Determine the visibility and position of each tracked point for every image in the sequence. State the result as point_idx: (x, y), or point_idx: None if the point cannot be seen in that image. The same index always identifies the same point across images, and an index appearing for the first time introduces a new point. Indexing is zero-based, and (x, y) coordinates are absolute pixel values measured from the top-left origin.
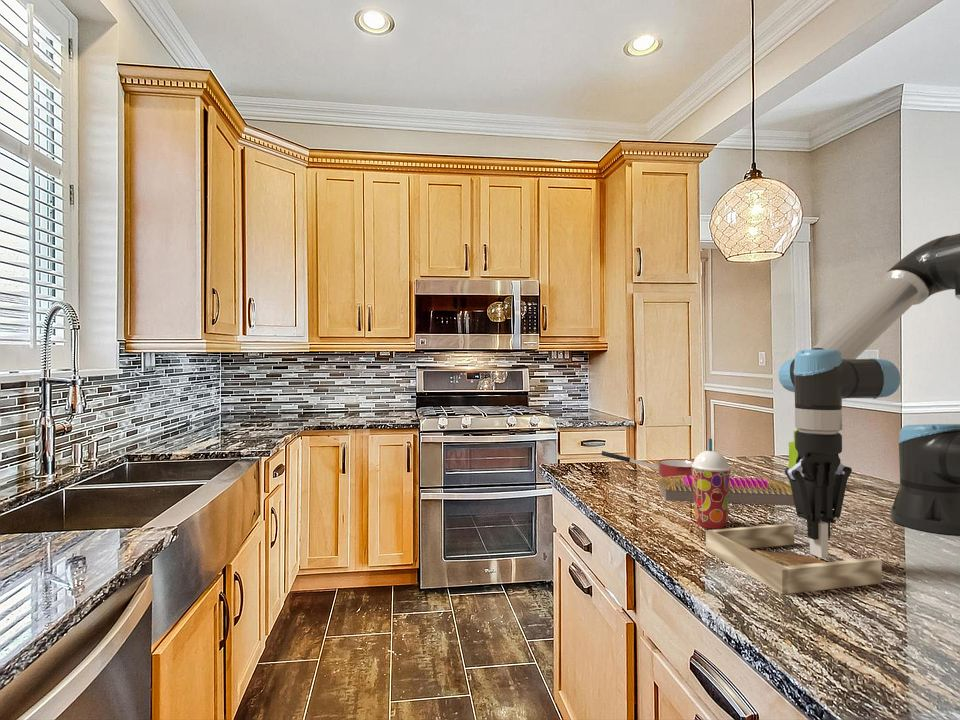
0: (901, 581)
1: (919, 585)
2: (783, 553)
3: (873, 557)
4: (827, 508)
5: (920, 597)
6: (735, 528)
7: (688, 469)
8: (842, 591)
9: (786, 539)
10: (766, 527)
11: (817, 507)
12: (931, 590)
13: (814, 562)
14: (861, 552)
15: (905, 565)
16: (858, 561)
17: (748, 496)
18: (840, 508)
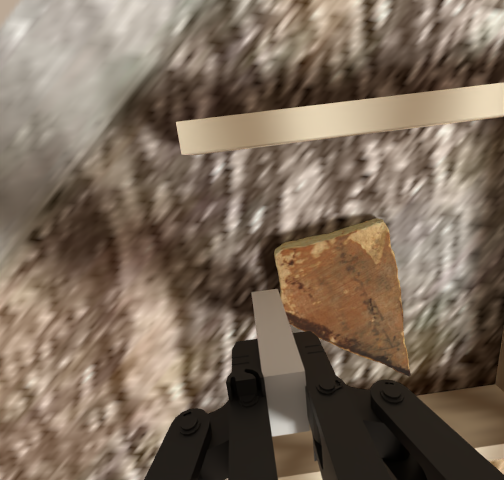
0: (111, 138)
1: (73, 100)
2: (356, 339)
3: (189, 153)
4: (270, 459)
5: (144, 3)
6: None
7: None
8: (364, 86)
9: None
10: None
11: (361, 458)
12: (61, 54)
13: (324, 260)
14: (76, 361)
15: (3, 258)
16: (290, 116)
17: None
18: (159, 469)
